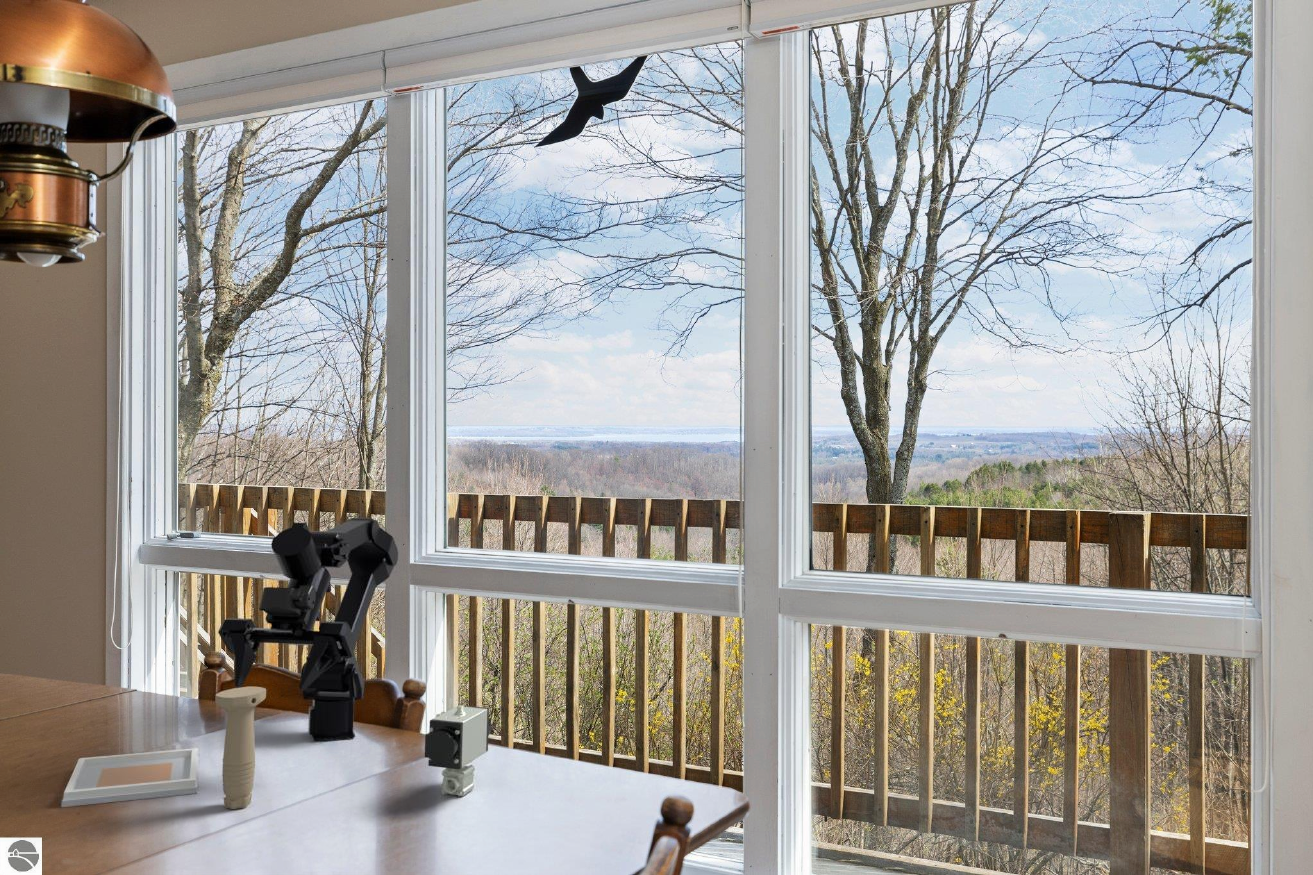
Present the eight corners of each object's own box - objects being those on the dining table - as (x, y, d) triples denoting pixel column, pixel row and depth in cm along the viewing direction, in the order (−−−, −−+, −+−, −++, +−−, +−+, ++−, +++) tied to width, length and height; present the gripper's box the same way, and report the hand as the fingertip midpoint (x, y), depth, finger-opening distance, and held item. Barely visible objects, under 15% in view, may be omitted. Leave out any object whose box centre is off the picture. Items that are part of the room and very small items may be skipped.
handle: (204, 810, 130) (207, 694, 130) (244, 795, 135) (248, 684, 136) (229, 816, 127) (233, 699, 128) (270, 801, 133) (273, 689, 133)
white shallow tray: (199, 759, 150) (199, 747, 150) (196, 793, 136) (197, 779, 136) (77, 770, 144) (77, 757, 144) (61, 807, 129) (62, 793, 129)
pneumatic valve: (491, 781, 144) (493, 697, 144) (453, 808, 133) (456, 717, 133) (456, 776, 145) (458, 694, 146) (416, 803, 134) (419, 713, 134)
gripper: (226, 563, 146) (184, 653, 135) (351, 567, 145) (319, 658, 134) (249, 608, 154) (211, 697, 143) (367, 612, 153) (339, 702, 142)
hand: (269, 688), depth 140 cm, fingers open, 9 cm apart
